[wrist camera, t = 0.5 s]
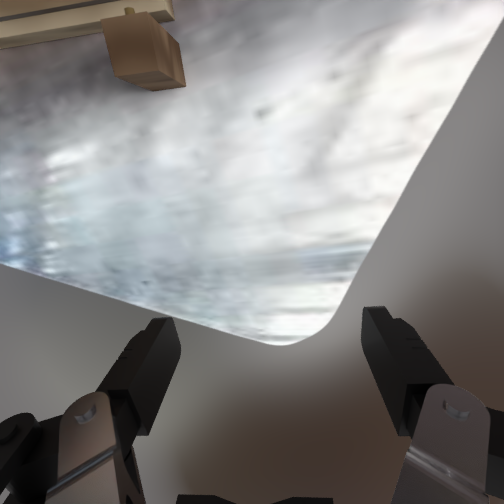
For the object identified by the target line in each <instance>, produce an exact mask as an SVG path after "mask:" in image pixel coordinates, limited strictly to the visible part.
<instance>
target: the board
mask: <svg viewBox="0 0 504 504" xmlns="http://www.w3.org/2000/svg"><path fill="white" fill-rule="evenodd" d="M126 7H131V8H134V11H135V13H139V12H145V11H147V12H148V13H149V14H150V15H151V16H152V17H153V18H154V19H155V20H156V21H157V22H158V23H161V22H167V21H173V20H175V19H174V13H173V7H172V1H171V0H0V49H5V48H11V47H17V46H23V45H29V44H35V43H41V42H47V41H53V40H59V39H65V38H71V37H77V36H83V35H89V34H95V33H101V32H103V29H102V25H101V21H100V19H105V18H110V17H116V16H122V15H125V11H124V8H126Z"/></svg>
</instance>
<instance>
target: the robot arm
mask: <svg viewBox="0 0 504 504" xmlns="http://www.w3.org/2000/svg"><path fill="white" fill-rule="evenodd" d="M361 343H362V348H363V352H364V354H365V357H366V359H367V361H368V364H369V366H370V369H371V371H372V374H373V376H374V379H375V381H376V383H377V386H378V388H379V391H380V393H381V395H382V398H383V400H384V403H385V405H386V407H387V410H388V412H389V415H390V417H391V419H392V422H393V424H394V427H395V429H396V431H397V434H398V436H410V437H411V439H412V442H411V445H410V448H409V449H408V451H407V453H406V456H405V460H404V463H403V466H402V469H401V472H400V476H399V479H398V482H397V485H396V488H395V492H394V495H393V498H392V501H391V504H489V497H488V496H487V495H486V494H485V493H487V494H489V495H492V496H495V497H498V498H501V499H503V500H504V412H502V411H498V410H494V409H491V408H488V407H485V406H484V404H483V403H482V402H481V401H480V400H479V399H478V398H476V397H475V396H474V395H473V394H471V393H470V392H468V391H466V390H464V389H462V388H460V387H457V386H455V385H454V383H453V382H452V381H451V379H450V378H449V376H448V375H447V374H446V373H445V371H444V369H443V368H442V367H441V365H440V364H439V363H438V361H437V360H436V358H435V357H434V356H433V354H432V353H431V352H430V350H429V349H427V346H426V344H425V343H424V342H423V340H421V338H420V336H419V335H418V333H417V332H416V331H415V329H414V328H413V327H412V326H411V325H409V324H408V323H407V322H405V321H404V320H402V319H401V318H396V319H393V318H392V316H391V315H390V314H389V312H388V310H387V309H386V307H385V306H373V307H364V308H363V314H362V329H361ZM180 355H181V344H180V341H179V338H178V334H177V331H176V327H175V324H174V321H173V319H172V318H171V317H162V318H153V319H152V320H151V321H150V323H149V324H148V326H147V327H146V329H145V330H142V331H140V332H139V333H138V334H136V335H135V336H134V337H133V338H132V339H131V340H130V341H129V343H128V344H127V346H126V347H125V349H124V351H123V352H122V353H121V355H120V356H119V357H118V360H116V362H115V363H114V365H113V366H112V368H111V369H110V371H109V372H108V374H107V375H106V376H105V378H104V379H103V381H102V383H101V384H100V385H99V387H98V388H97V390H96V391H95V392H92V393H89V394H87V395H85V396H83V397H81V398H79V399H78V400H76V401H75V402H74V403H73V404H72V405H70V406H69V407H68V409H67V410H66V411H65V413H64V414H63V415H60V416H56V417H53V418H50V419H47V420H44V421H41V422H37V420H36V419H35V417H34V416H33V415H32V414H31V413H20V414H17V415H14V416H12V417H10V418H8V419H6V420H4V421H3V422H1V423H0V495H1V493H2V492H3V490H4V489H5V488H7V490H8V491H9V492H10V494H9V496H8V497H7V498H6V500H5V501H4V503H3V504H146V501H145V497H144V493H143V488H142V484H141V480H140V475H139V470H138V466H137V461H136V457H135V452H134V448H133V446H132V444H133V441H134V440H135V437H136V436H148V435H149V433H150V430H151V428H152V425H153V423H154V420H155V418H156V416H157V413H158V411H159V408H160V406H161V403H162V401H163V398H164V396H165V393H166V391H167V389H168V386H169V384H170V381H171V379H172V376H173V374H174V371H175V369H176V366H177V364H178V361H179V359H180ZM176 504H236V503H233V502H230V501H227V500H225V499H223V498H220V497H217V496H215V495H180V494H179V495H178V497H177V501H176ZM273 504H333V498H311V497H310V498H309V497H292V498H288V499H285V500H282V501H279V502H276V503H273Z"/></svg>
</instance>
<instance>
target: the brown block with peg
mask: <svg viewBox="0 0 504 504" xmlns="http://www.w3.org/2000/svg"><path fill="white" fill-rule="evenodd" d="M124 11H125V15H122V16H116V17H110V18H105V19H100V21H101V25H102V29H103V32H104V36H105V40H106V44H107V48H108V52H109V55H110V59H111V63H112V67H113V71H114V75H115V77H117V78H119V79H122V80H125V81H127V82H130V83H132V84H135V85H138V86H140V87H143V88H145V89H148V90H151V91H159V90H166V89H174V88H181V87H186V82H185V76H184V70H183V64H182V59H181V53H180V47H179V43H178V42H177V41H176V40H175V39H174V38H173V37H172V36H171V35H170V34H169V33H168V32H167V31H166V30H165V29H164V28H163V27H162V26H161V25H160V24H159V23H158V22H157V21H156V20H155V19H154V18H153V17H152V16H151V15H150V14H149V13H148V12H147V11H145V12H139V13H135V11H134V8H131V7H126V8H124Z"/></svg>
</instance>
